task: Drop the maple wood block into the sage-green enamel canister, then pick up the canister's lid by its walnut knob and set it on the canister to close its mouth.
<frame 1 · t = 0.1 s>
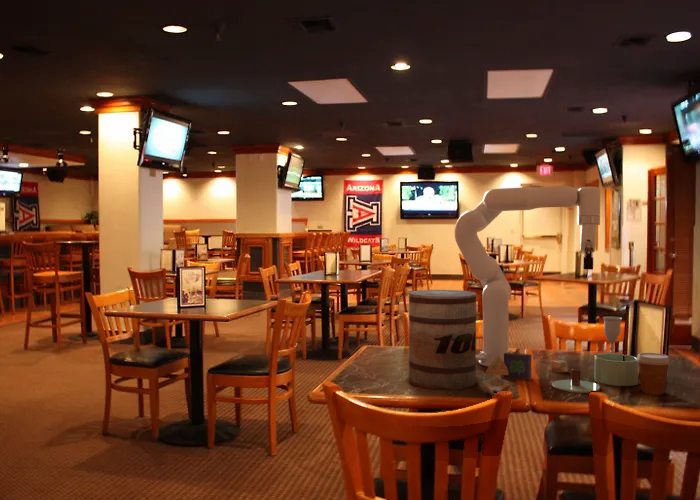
hand: (588, 268, 230), 37 cm above the table, tool pointing down, fingers open, 9 cm apart
canister: (616, 382, 214), on the table
flask: (517, 380, 218), on the table
disposable coffee cup: (652, 393, 200), on the table
lid: (575, 386, 206), point 1 cm above the table
oil lamp: (496, 394, 199), on the table
chalice: (611, 365, 241), on the table
barrel: (441, 381, 216), on the table
block: (559, 372, 229), on the table
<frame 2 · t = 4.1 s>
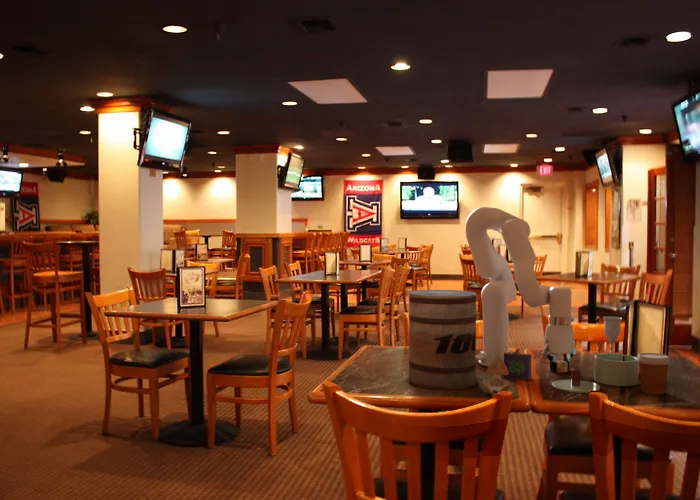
hand: (559, 371, 229), 0 cm above the table, tool pointing down, fingers closed on block, 4 cm apart
block: (559, 372, 229), on the table, touching gripper
everything else where it was.
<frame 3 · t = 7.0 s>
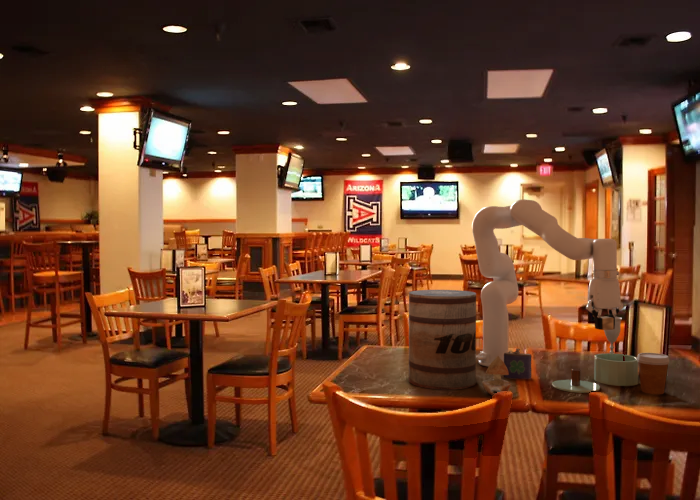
hand: (604, 328, 216), 18 cm above the table, tool pointing down, fingers closed on block, 4 cm apart
block: (604, 329, 216), point 18 cm above the table, touching gripper
everything else where it was.
when the fingers open (7 cm above the table, at t = 10.0 s): block drops 6 cm, resting on canister.
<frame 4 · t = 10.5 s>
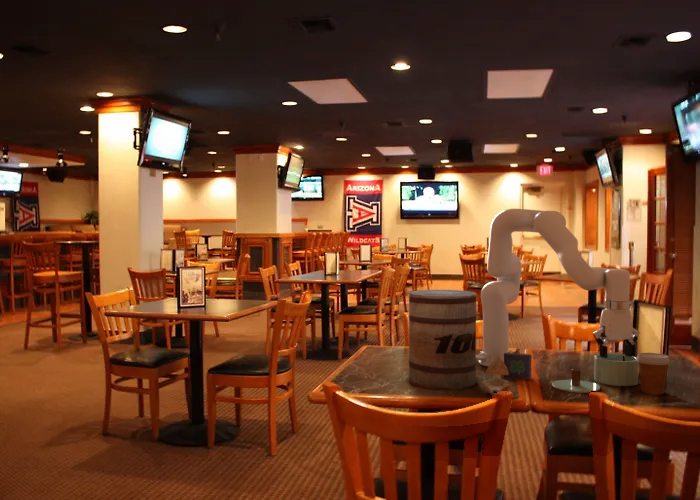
hand: (615, 356, 214), 9 cm above the table, tool pointing down, fingers open, 9 cm apart
block: (615, 381, 214), resting on canister
everything else where it was.
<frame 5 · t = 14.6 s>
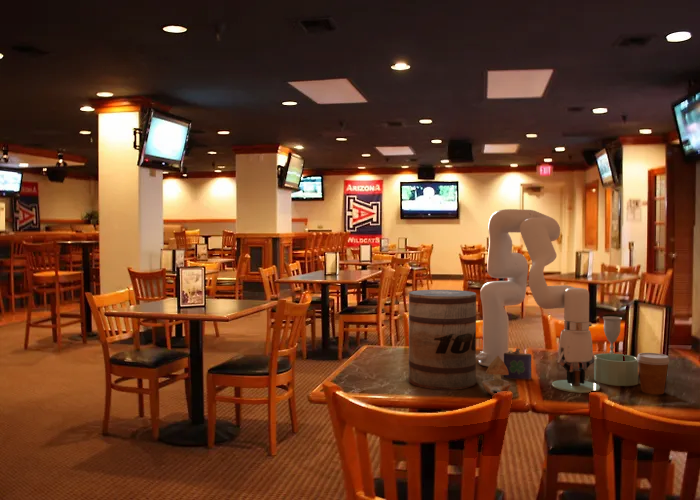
hand: (575, 382, 206), 2 cm above the table, tool pointing down, fingers closed on lid, 2 cm apart
lid: (575, 386, 206), point 1 cm above the table, touching gripper
everything else where it was.
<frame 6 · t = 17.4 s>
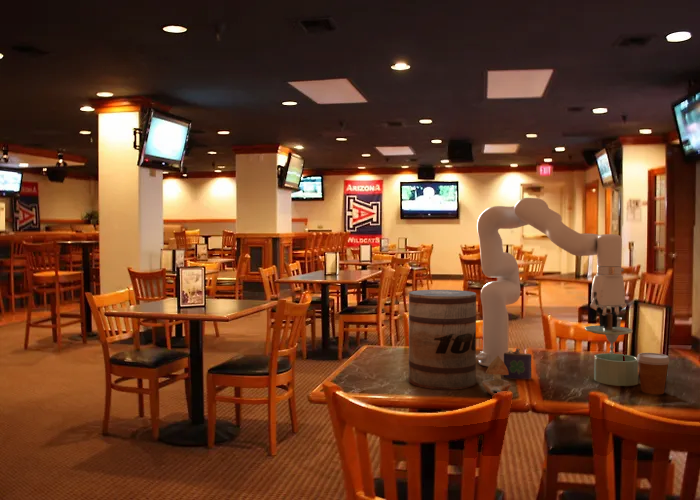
hand: (608, 326, 211), 19 cm above the table, tool pointing down, fingers closed on lid, 2 cm apart
lid: (608, 330, 211), point 18 cm above the table, touching gripper
everything else where it was.
when the fingers open (10 cm above the table, at t = 20.2 s): lid stays where it is, resting on canister.
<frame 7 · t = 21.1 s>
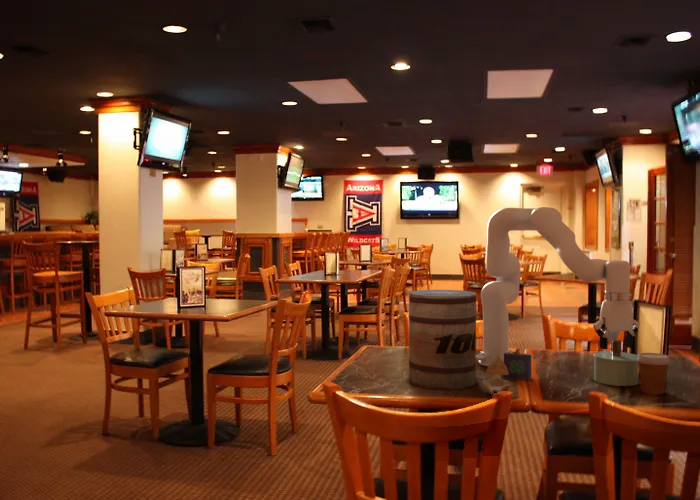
hand: (616, 348, 214), 12 cm above the table, tool pointing down, fingers open, 9 cm apart
lid: (616, 357, 214), point 8 cm above the table, touching canister
everything else where it was.
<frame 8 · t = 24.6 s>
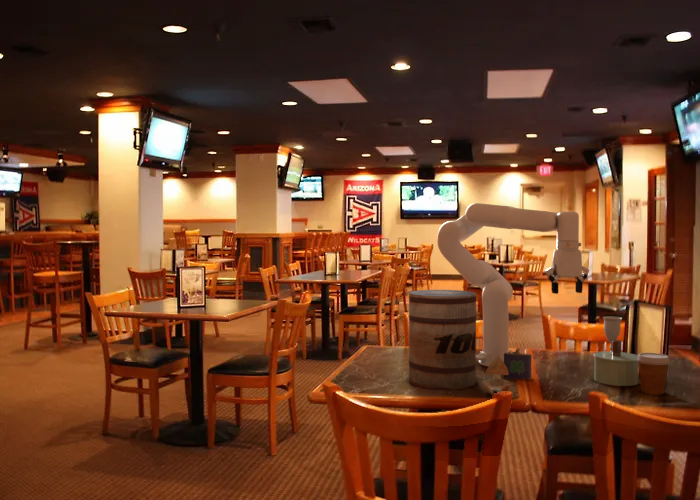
hand: (567, 293, 231), 28 cm above the table, tool pointing down, fingers open, 9 cm apart
nothing on the table moved.
at the end: block inside the target area in the canister (0.0 cm from its centre), point 0.5 cm above the canister's base; lid 0.1 cm off-centre on the canister, point 8.5 cm above the canister's base; lid tilted 0° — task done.
